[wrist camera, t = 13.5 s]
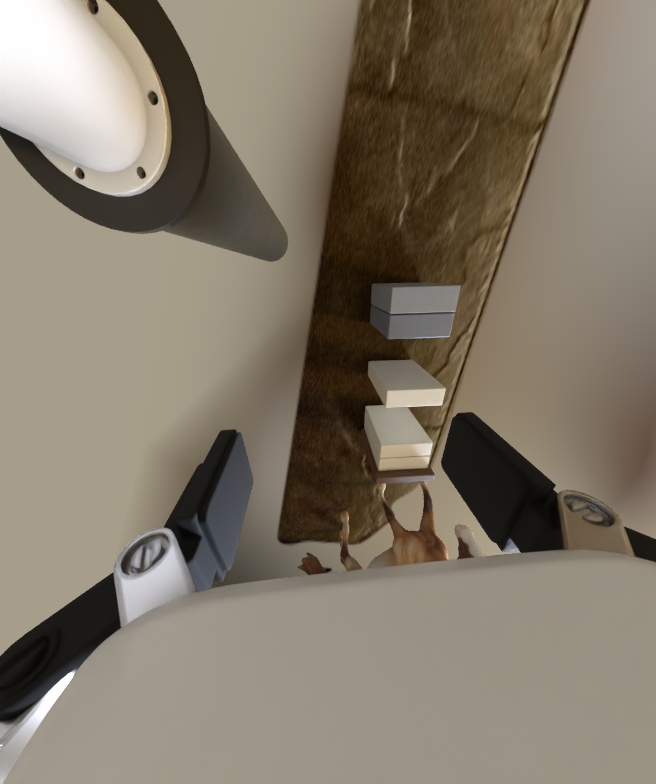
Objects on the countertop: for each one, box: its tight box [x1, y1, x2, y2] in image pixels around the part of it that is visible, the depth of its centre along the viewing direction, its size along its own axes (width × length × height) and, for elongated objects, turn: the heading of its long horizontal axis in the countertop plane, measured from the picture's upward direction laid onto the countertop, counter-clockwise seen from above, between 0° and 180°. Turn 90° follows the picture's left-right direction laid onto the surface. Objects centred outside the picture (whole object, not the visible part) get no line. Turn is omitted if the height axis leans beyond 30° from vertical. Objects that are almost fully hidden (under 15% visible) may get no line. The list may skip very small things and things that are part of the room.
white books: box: [361, 405, 435, 484], centre depth 31 cm, size 7×5×10 cm
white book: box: [368, 360, 445, 408], centre depth 28 cm, size 6×2×9 cm, turn 91°
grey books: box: [370, 282, 461, 339], centre depth 25 cm, size 6×4×8 cm
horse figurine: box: [298, 481, 485, 575], centre depth 35 cm, size 31×8×21 cm, turn 139°
